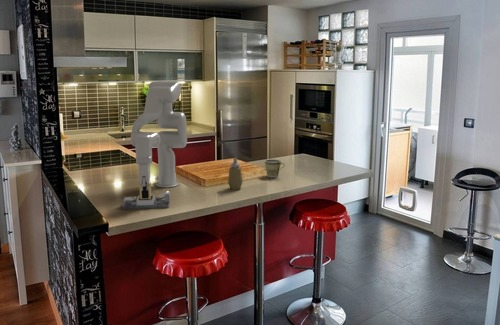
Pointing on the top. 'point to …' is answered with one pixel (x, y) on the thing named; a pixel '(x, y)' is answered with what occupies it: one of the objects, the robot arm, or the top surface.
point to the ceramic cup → (273, 167)
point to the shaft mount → (147, 202)
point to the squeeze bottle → (235, 176)
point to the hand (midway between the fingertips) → (145, 196)
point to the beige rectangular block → (148, 191)
